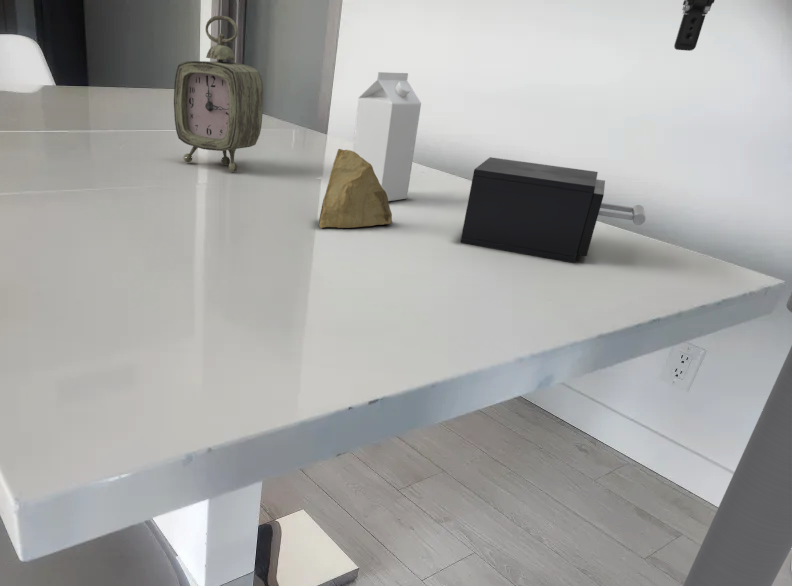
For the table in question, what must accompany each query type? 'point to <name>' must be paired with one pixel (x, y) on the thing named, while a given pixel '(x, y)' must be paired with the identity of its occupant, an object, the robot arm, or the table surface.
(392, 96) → the milk carton
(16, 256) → the table surface
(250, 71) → the tabletop clock
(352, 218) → the rock
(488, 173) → the black drawer cabinet
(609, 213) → the drawer
